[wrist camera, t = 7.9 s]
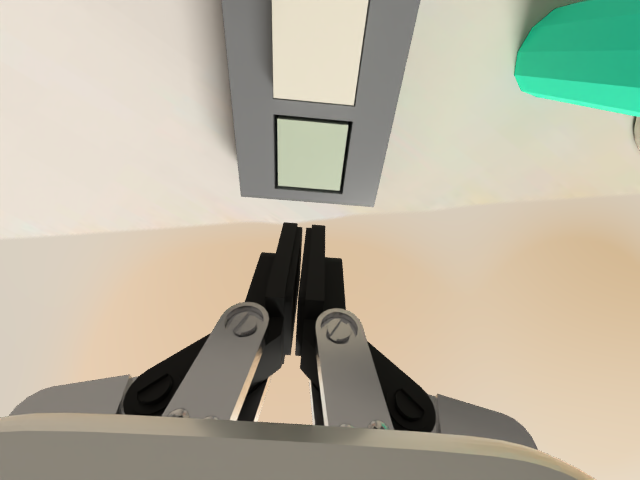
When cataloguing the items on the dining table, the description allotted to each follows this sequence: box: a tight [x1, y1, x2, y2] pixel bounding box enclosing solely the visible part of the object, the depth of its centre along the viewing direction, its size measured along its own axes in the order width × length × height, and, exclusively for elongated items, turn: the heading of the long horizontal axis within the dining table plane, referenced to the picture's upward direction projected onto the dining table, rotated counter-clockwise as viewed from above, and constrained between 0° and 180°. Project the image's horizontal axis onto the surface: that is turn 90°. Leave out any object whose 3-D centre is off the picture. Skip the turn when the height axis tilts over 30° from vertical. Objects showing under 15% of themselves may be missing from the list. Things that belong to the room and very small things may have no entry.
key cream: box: [272, 0, 368, 105], centre depth 17 cm, size 5×5×3 cm
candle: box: [514, 0, 640, 117], centre depth 16 cm, size 6×6×12 cm
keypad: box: [222, 0, 420, 207], centre depth 19 cm, size 12×22×4 cm, turn 175°
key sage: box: [277, 115, 348, 191], centre depth 23 cm, size 5×5×3 cm
